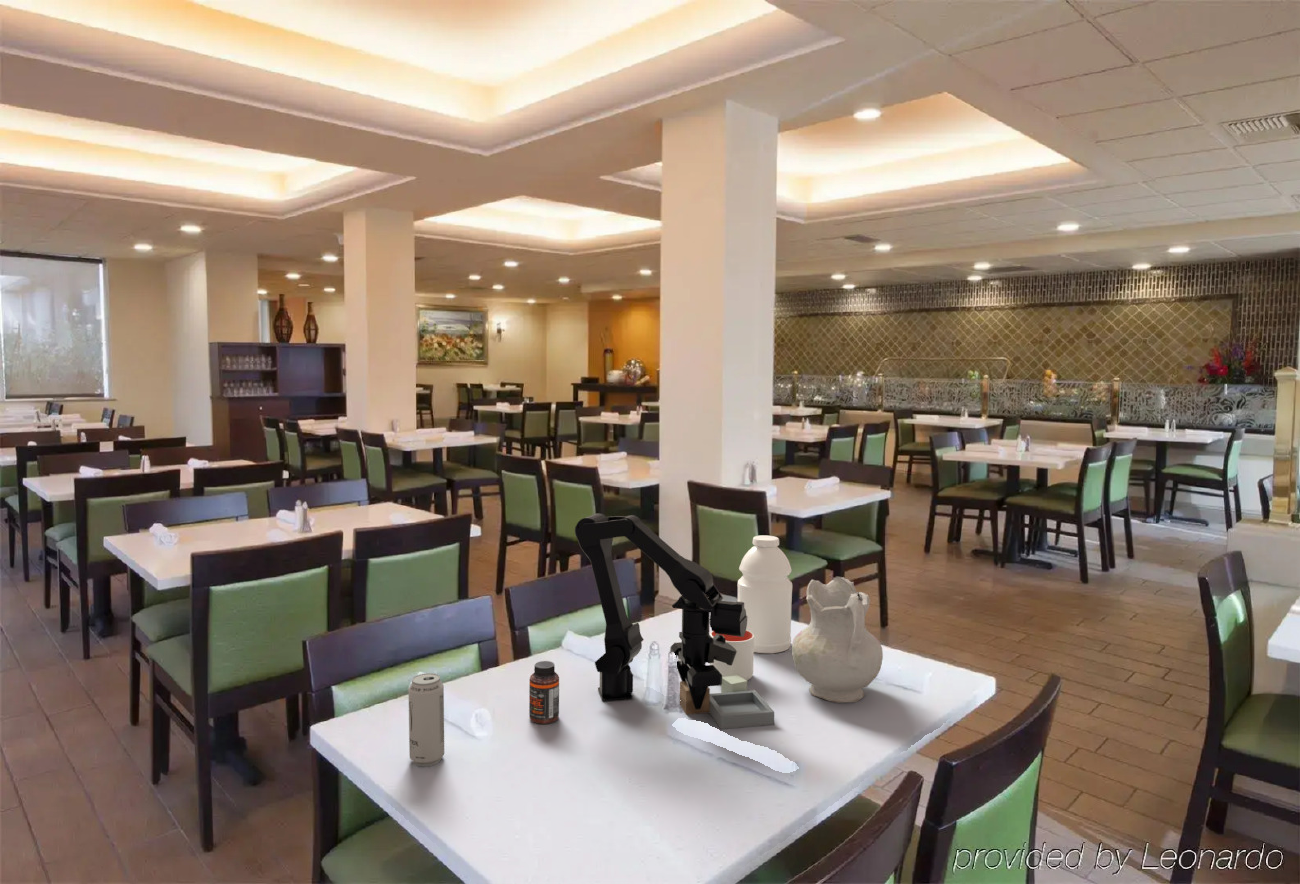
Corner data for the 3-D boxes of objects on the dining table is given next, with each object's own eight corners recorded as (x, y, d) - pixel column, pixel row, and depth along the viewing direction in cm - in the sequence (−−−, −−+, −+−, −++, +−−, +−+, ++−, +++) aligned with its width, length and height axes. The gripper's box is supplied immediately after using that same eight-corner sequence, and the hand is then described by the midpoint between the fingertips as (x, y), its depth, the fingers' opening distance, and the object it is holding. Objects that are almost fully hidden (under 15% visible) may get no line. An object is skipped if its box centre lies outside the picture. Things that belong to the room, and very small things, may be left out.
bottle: (729, 637, 211) (731, 532, 209) (779, 634, 214) (782, 531, 211) (745, 655, 197) (748, 544, 195) (798, 652, 200) (802, 542, 197)
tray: (721, 729, 157) (721, 716, 156) (705, 706, 167) (705, 694, 167) (774, 724, 159) (774, 711, 159) (754, 701, 170) (755, 690, 170)
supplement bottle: (523, 721, 159) (523, 665, 158) (540, 710, 165) (540, 656, 164) (547, 727, 157) (547, 671, 156) (564, 716, 162) (565, 661, 161)
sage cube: (731, 702, 170) (731, 684, 169) (721, 695, 173) (721, 677, 173) (746, 698, 172) (747, 680, 171) (736, 692, 175) (736, 674, 175)
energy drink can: (408, 754, 145) (407, 674, 144) (442, 749, 147) (441, 670, 146) (410, 770, 139) (409, 686, 138) (446, 764, 141) (445, 682, 140)
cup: (755, 685, 179) (756, 642, 178) (710, 684, 179) (711, 641, 178) (750, 669, 189) (751, 627, 188) (708, 668, 189) (708, 627, 188)
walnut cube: (685, 714, 163) (686, 690, 163) (679, 704, 168) (679, 681, 168) (709, 712, 164) (709, 688, 164) (702, 702, 169) (702, 679, 169)
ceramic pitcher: (905, 712, 168) (917, 595, 166) (826, 719, 160) (838, 597, 159) (843, 676, 188) (854, 572, 186) (771, 681, 181) (781, 572, 179)
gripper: (747, 642, 158) (746, 719, 159) (719, 614, 176) (718, 683, 177) (693, 646, 155) (692, 723, 156) (670, 617, 173) (669, 687, 175)
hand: (694, 703), depth 166 cm, fingers closed on walnut cube, 5 cm apart
